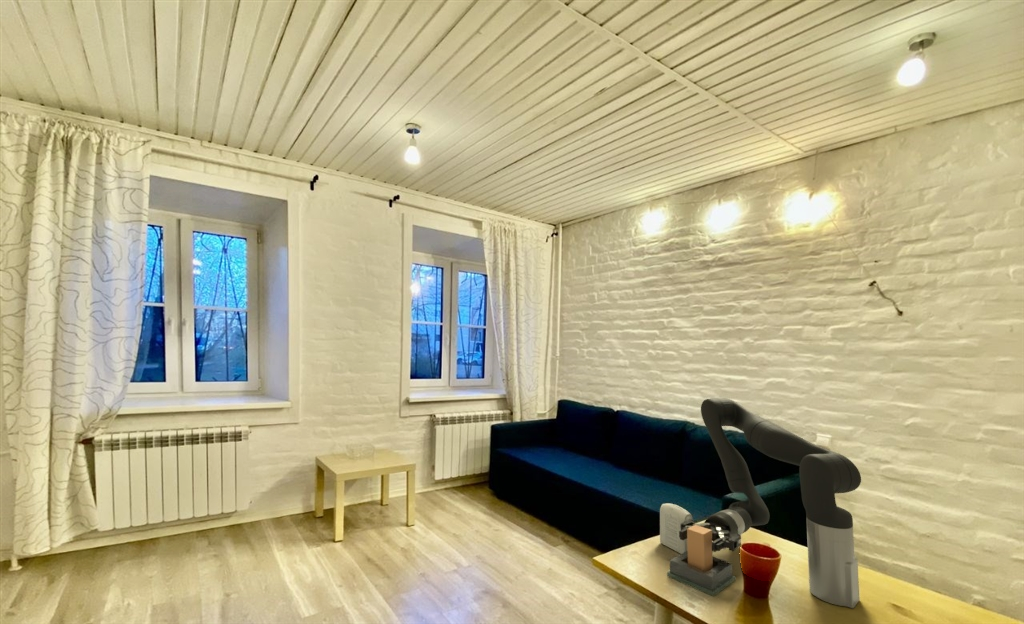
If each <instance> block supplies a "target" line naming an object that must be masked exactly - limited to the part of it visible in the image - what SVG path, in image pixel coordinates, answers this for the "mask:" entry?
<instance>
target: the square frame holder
mask: <svg viewBox="0 0 1024 624" xmlns="http://www.w3.org/2000/svg"><path fill="white" fill-rule="evenodd" d="M666 575H667V577H668V576H669V577H668V578H670V577H671V579H673V580H674V581H677V582H680V583H682V584H683V585H687V586H689V587H691V588H693V589H696V590H698V591H700V592H702V593H705V594H707V595H709V596H712V597H715V596H716V595H717V594H719V593H720V592H722V591H723V590H724V589H725V588H727V587H728V586H730V585H731V584H732V583H733V582H735V581H736V575H734V574H733V563H731V562H728V561H726V560H723V559H721V558H718V557H715V556H713V568H712V569H711V570H709V571H705V570H703V569H700V568H698V567H695V566H693V565H690V564H688V550H687V551H686V552H684V553H682V554H681V553H679V554H678V555H676V556H675V557H673V558H671V559H670V560H669V571H667V573H666Z"/></svg>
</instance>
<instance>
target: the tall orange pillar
mask: <svg viewBox="0 0 1024 624" xmlns="http://www.w3.org/2000/svg"><path fill="white" fill-rule="evenodd" d="M712 542H713V541H712V530H710V529H707V528H704V527H701V526H698V525H694V526H692V527H690V528H688V529H687V548H688V564H690V565H693V566H695V567H698V568H700V569H703V570H705V571H709V570H711V569H712V568H713V557H714V556H713V551H712Z"/></svg>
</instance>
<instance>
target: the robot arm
mask: <svg viewBox="0 0 1024 624" xmlns="http://www.w3.org/2000/svg"><path fill="white" fill-rule="evenodd" d="M700 414H701V417H702V421H703V423H704V426H705V428H706V430H707V432H708V434H709V437H710V438H711V440H712V441H711V442H712V443H713V445H714V448H715V450H716V452H717V454H718V456H719V458H720V460H721V465H722V468H723V470H724V471H723V472H724V473H725V474H724V475H725V478H726V481H727V484H728V487H729V490H730V491H731V492H732V493H735V494H743V495H744V496H745V497H746V498H747V500H742V501H736V502H732V503H731V504H730V505H729V506H728V507H727V508H726V509H723V510H720V511H718V512H715V513H713V514H711V515H709V516H708V517H707V518H706V519H705V521H704V522H703V523H702V522H701V523H696V521H695V520H694V519H693V520H688V521H686V522H683V523H681V524H680V528H681V530H680V531H679V537H680V539H681V540H685V539H687V529H688V528H690V527H692V526H694V525H698V526H701V527H704V528H707V529H710V530H712V552H714V553H717V552H719V551H721V550H726V549H728V550H729V551H730V552H734V551H736V550H737V549H738V548H740V547H741V546H742V534H744V533H746V532H747V531H748V530H750V528H751V527H755V526H757V527H758V526H765V525H766V524H768V523H769V521H770V516H771V515H770V512H769V508H768V507H767V505H766V503H765V501H764V500H763V499H762V497H761V496H760V493H759V492H758V490H757V488H756V487H755V485H754V482H753V479H752V475H751V473H750V471H749V467H748V464H747V462H746V461H745V459H744V457H743V456H742V454H741V453H740V452H739V451H738V449H737V448H735V447H734V445H733V444H732V443H731V441H730V440H729V439H728V437H727V435H726V433H725V432H724V428H723V427H733V428H736V429H737V430H740V431H742V432H743V436H744V439H745V440H746V442H747V443H748V444H749V446H751V447H752V448H754V449H755V450H757V451H759V452H760V453H762V454H764V455H766V456H768V457H769V458H771V459H772V458H773V459H774V460H778V461H781V462H784V463H787V464H791V465H795V466H798V467H799V482H800V484H799V485H800V493H801V502H802V504H803V507H804V509H805V513H806V514H805V515H806V539H807V541H806V542H807V560H808V561H807V562H808V585H809V586H808V587H809V592H810V593H811V594H812V595H813V596H815V598H818V599H819V600H821V601H824V602H825V603H829V604H832V605H835V606H841V607H846V608H850V609H854V608H855V607H856V605H857V604H858V603H859V601H860V600H861V599H860V598H861V597H860V584H859V582H860V581H859V564H858V562H859V561H858V557H856V555H855V541H854V540H855V539H854V538H855V537H854V522H853V521H854V520H853V516H852V513H851V512H850V511H849V510H847V509H844V508H842V507H839V506H837V502H836V496H835V495H836V494H847V493H850V492H853V491H856V490H857V489H858V488H859V487H860V485H861V483H862V477H861V476H862V475H861V473H860V471H859V468H858V467H857V466H856V464H854V463H853V461H852V460H850V459H849V457H846V456H845V455H843V454H841V453H839V452H838V453H837V452H835V451H832V450H830V449H827V448H825V447H822V446H820V445H817V444H815V443H812V442H811V441H808V440H806V439H805V438H803V437H801V436H799V435H797V434H795V433H793V432H791V431H789V430H787V429H785V428H783V427H781V426H779V425H778V424H776V423H774V422H771V421H770V420H767V419H765V418H764V417H761V416H759V415H757V414H755V413H753V412H751V411H750V410H748V409H747V408H745V407H744V406H742V405H741V404H740V403H738V402H736V401H734V400H733V399H730V398H706V399H704V400H703V401H702V402H701V405H700Z"/></svg>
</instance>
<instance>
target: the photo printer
mask: <svg viewBox="0 0 1024 624" xmlns="http://www.w3.org/2000/svg"><path fill="white" fill-rule="evenodd" d="M688 520H694V517H693V515H692V514H691V513H690V512H689V511H688V510H686V509H685V508H684V507H681V506H679V505H677V504H675V503H674V504H673V503H669V502H667V503H662V504H661V506H660V508H659V542H660V543H661V544H662V545H664V546H665V547H668V548H670V549H671V550H674V551H675V552H676V553H679V554H682V553H684V552H686V551H687V550H688V548H687V539H685V540H681V539H680V537H679V531H680V530H681V528H680V524H681V523H683V522H686V521H688Z"/></svg>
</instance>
